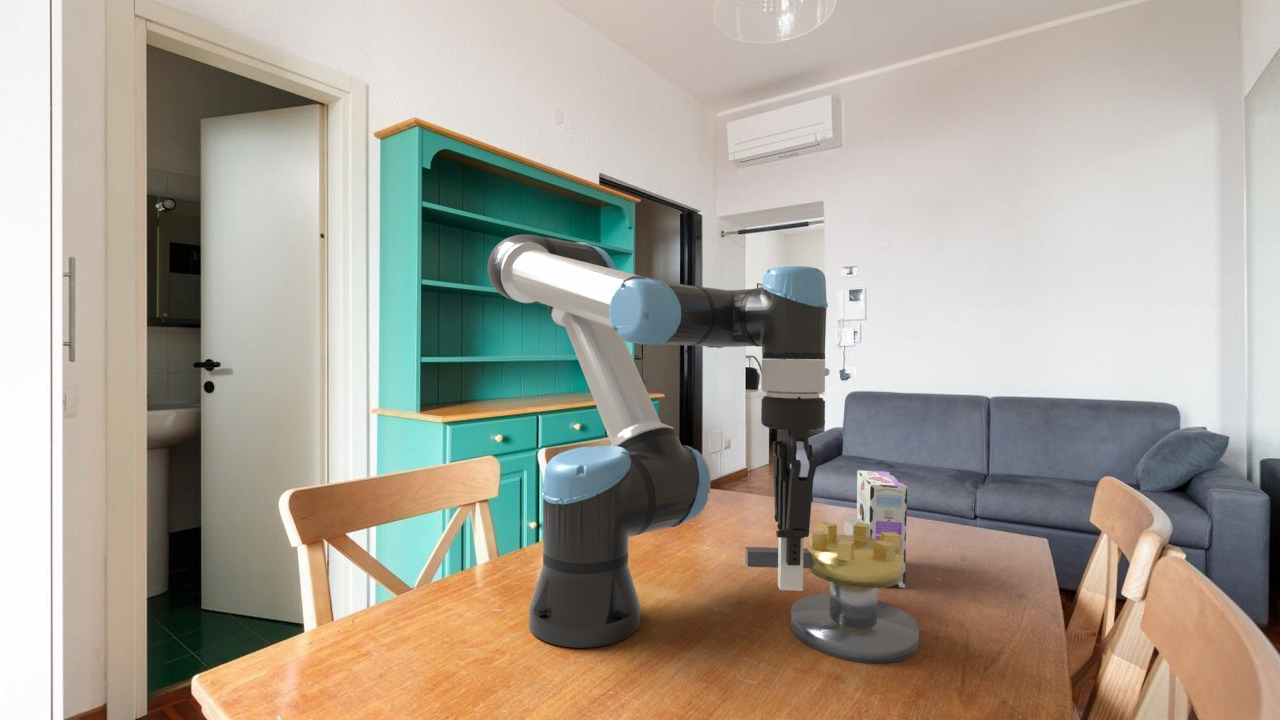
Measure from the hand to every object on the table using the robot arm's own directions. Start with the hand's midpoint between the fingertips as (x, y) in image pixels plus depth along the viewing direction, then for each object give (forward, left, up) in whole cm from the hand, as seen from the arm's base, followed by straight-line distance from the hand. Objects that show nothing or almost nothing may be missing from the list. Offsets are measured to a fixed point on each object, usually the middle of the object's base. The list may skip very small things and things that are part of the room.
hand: (790, 587), depth 73 cm
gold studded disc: (+6, +7, 0) cm, 9 cm away
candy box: (+22, +30, -9) cm, 38 cm away
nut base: (+10, +9, -8) cm, 16 cm away
